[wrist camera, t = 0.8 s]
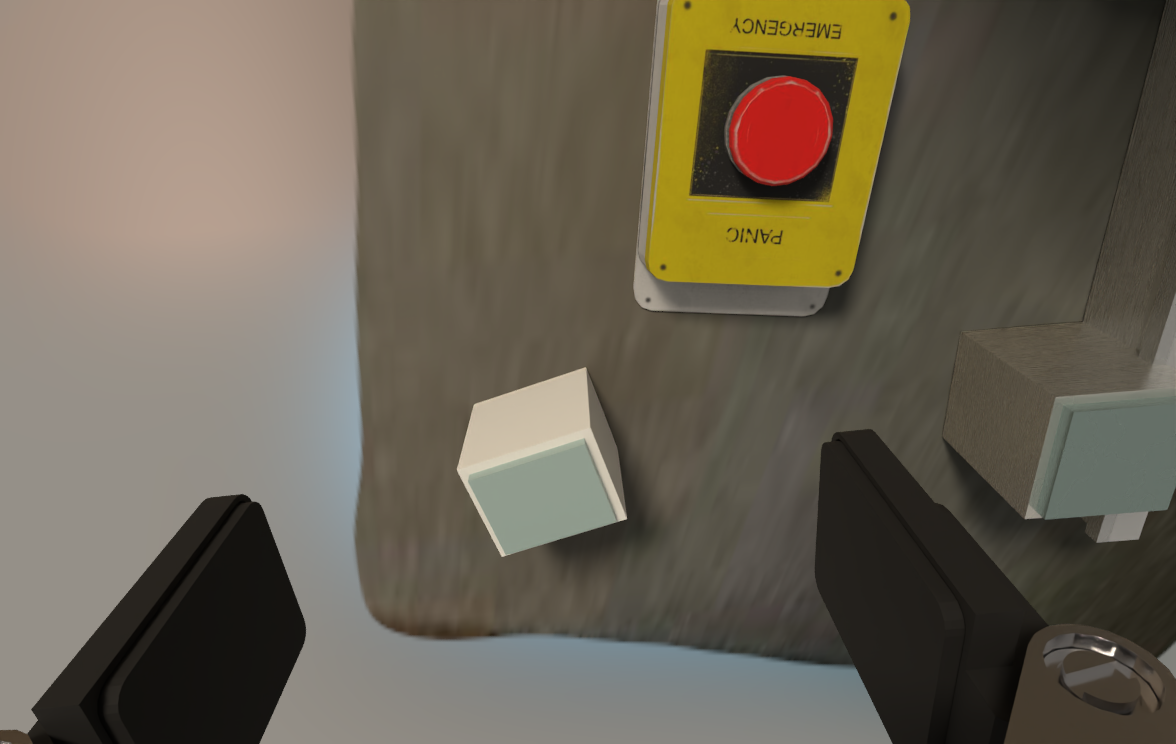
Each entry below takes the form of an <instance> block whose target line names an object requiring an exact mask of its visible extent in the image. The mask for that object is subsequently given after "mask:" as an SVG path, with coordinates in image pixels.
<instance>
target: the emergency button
mask: <svg viewBox="0 0 1176 744" xmlns="http://www.w3.org/2000/svg"><path fill="white" fill-rule="evenodd" d="M909 23H910V7H909V5H908V4H907V2H906V1H905V0H657V9H656V21H655V33H654V45H653V57H652V69H651V81H650V93H649V105H648V117H647V129H646V141H645V153H644V165H643V177H642V189H641V201H640V213H639V225H638V237H637V249H636V261H635V273H634V285H633V288H634V294H635V299H636V300H637V302H638V303H639V304H640V305H641V307H642V308H645V309H648V310H651V311H674V312H700V313H726V314H753V315H779V316H808V315H812V314H815V313H816V312H817V311H818V310H819V309H820V308H821V307H823V305H824V303H825V301H826V298H827V296H828V292H829V288H831V287H836V286H840V285H841V284H843V283H844V282H845V281H847V280H848V279H849V277H850V275H851V273H852V272H853V269H854V265H855V260H856V256H857V251H858V247H859V243H860V238H861V234H862V229H863V225H864V221H865V216H866V212H867V207H868V203H869V199H870V194H871V190H872V185H873V181H874V177H875V172H876V168H877V163H878V159H879V155H880V150H881V146H882V141H883V137H884V133H885V128H886V124H887V119H888V115H889V111H890V106H891V102H892V98H893V93H894V89H895V84H896V80H897V76H898V71H899V67H900V62H901V58H902V54H903V49H904V45H905V40H906V36H907V32H908V27H909Z"/></svg>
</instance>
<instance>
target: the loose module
mask: <svg viewBox="0 0 1176 744" xmlns="http://www.w3.org/2000/svg"><path fill="white" fill-rule="evenodd" d="M457 471H458V473H459V475H460V477H461V479H462V481H463V483H464V485H465V487H466V489H467V491H468V492H469V494H470V496H471V498H472V500H473V502H474V504H475V506H476V508H477V510H478V512H479V514H480V516H481V517H482V519H483V521H484V523H485V525H486V527H487V529H488V531H489V533H490V535H491V537H492V539H493V541H494V542H495V544H496V546H497V548H498V550H499V552H500V554H501V556H502V557H503V556H506V555H509V554H513V553H516V552H519V551H523V550H526V549H529V548H533V547H536V546H539V545H543V544H546V543H549V542H553V541H556V540H559V539H563V538H566V537H569V536H573V535H576V534H579V533H582V532H586V531H589V530H592V529H596V528H599V527H602V526H606V525H609V524H612V523H616V522H619V521H622V520H626V519H627V514H626V507H625V499H624V492H623V485H622V477H621V470H620V463H619V455H618V448H617V446H616V443H615V440H614V438H613V435H612V433H611V430H610V428H609V425H608V422H607V420H606V417H605V415H604V412H603V410H602V407H601V404H600V402H599V399H598V397H597V394H596V391H595V389H594V386H593V384H592V381H591V379H590V376H589V373H588V371H587V368H586V367H585V368H582V369H579V370H576V371H573V372H570V373H567V374H564V375H561V376H558V377H555V378H552V379H549V380H546V381H543V382H540V383H537V384H534V385H531V386H528V387H525V388H522V389H519V390H516V391H513V392H510V393H507V394H504V395H501V396H498V397H495V398H492V399H489V400H486V401H483V402H480V403H477V404H474V406H473V410H472V414H471V418H470V422H469V426H468V429H467V433H466V437H465V441H464V445H463V449H462V452H461V456H460V460H459V464H458V468H457Z"/></svg>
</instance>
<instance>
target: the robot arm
mask: <svg viewBox="0 0 1176 744" xmlns="http://www.w3.org/2000/svg"><path fill="white" fill-rule="evenodd" d="M815 578H816V583H817V587H818V590H819V592H820V594H821V597H822V599H823V601H824V603H825V605H826V607H827V609H828V611H829V613H830V615H831V617H832V619H833V621H834V623H835V625H836V627H837V630H838V632H839V634H840V636H841V638H842V640H843V642H844V644H845V646H846V648H847V650H848V652H849V654H850V656H851V658H852V661H853V663H854V665H855V667H856V669H857V671H858V673H859V675H860V677H861V679H862V681H863V683H864V685H865V687H866V689H867V691H868V694H869V696H870V698H871V700H872V702H873V704H874V706H875V708H876V710H877V712H878V714H879V716H880V718H881V720H882V722H883V725H884V727H885V729H886V731H887V733H888V735H889V737H890V739H891V741H892V743H893V744H1176V679H1175V678H1174V676H1173V675H1172V673H1171V672H1170V670H1169V669H1168V668H1167V667H1166V666H1165V665H1163V664H1162V663H1161V662H1160V661H1159V660H1158V659H1157V658H1156V657H1155V656H1153V655H1152V654H1151V653H1149V652H1148V651H1146V650H1145V649H1143V648H1141V647H1140V646H1138V645H1137V644H1135V643H1133V642H1132V641H1130V640H1128V639H1126V638H1123V637H1121V636H1118V635H1116V634H1114V633H1111V632H1109V631H1106V630H1102V629H1098V628H1095V627H1091V626H1087V625H1077V624H1059V625H1053V626H1048V625H1047V623H1046V622H1045V621H1044V620H1043V619H1042V618H1041V616H1040V615H1039V614H1038V613H1037V612H1036V611H1035V609H1034V608H1033V607H1032V606H1031V605H1030V604H1029V603H1028V601H1027V600H1026V599H1025V598H1024V597H1023V596H1022V594H1021V593H1020V592H1019V591H1018V590H1017V589H1016V587H1015V586H1014V585H1013V584H1012V583H1011V582H1010V581H1009V579H1008V578H1007V577H1006V576H1005V575H1004V574H1003V572H1002V571H1001V570H1000V569H999V568H998V567H997V565H996V564H995V563H994V562H993V561H992V560H991V559H990V557H989V556H988V555H987V554H986V553H985V552H984V550H983V549H982V548H981V547H980V546H979V545H978V543H977V542H976V541H975V540H974V539H973V538H972V537H971V535H970V534H969V533H968V532H967V531H966V530H965V528H964V527H963V526H962V525H961V524H960V523H959V521H958V520H957V519H956V518H955V517H954V516H953V515H952V513H951V512H950V511H949V510H948V509H947V508H945V507H944V506H943V505H941V504H938V503H934V501H933V500H932V499H931V498H930V497H929V496H928V494H927V493H926V492H925V491H924V490H923V488H922V487H921V486H920V485H919V484H918V483H917V481H916V480H915V479H914V478H913V477H912V475H911V474H910V473H909V472H908V471H907V470H906V468H905V467H904V466H903V465H902V464H901V462H900V461H899V460H898V459H897V458H896V456H895V455H894V454H893V453H892V452H891V451H890V449H889V448H888V447H887V446H886V445H885V443H884V442H883V441H882V440H881V439H880V438H879V436H878V435H877V434H876V433H875V432H874V431H873V430H871V429H865V430H856V431H846V432H836V433H835V434H834V435H833V437H832V442H825V443H824V444H823V445H822V449H821V465H820V483H819V501H818V519H817V537H816V555H815ZM305 636H306V626H305V621H304V618H303V615H302V612H301V610H300V607H299V604H298V602H297V599H296V596H295V594H294V591H293V588H292V586H291V583H290V580H289V578H288V575H287V572H286V570H285V567H284V564H283V562H282V559H281V556H280V554H279V551H278V548H277V546H276V543H275V540H274V538H273V535H272V532H271V530H270V527H269V524H268V522H267V519H266V517H265V514H264V511H263V509H262V507H261V505H260V504H259V503H257V502H252V501H251V499H250V498H249V497H248V496H246V495H243V494H240V495H231V496H221V497H213V498H212V497H211V498H207V499H205V500H204V501H203V502H202V503H201V504H200V505H199V507H198V508H197V509H196V510H195V512H194V513H193V514H192V515H191V516H190V518H189V519H188V520H187V521H186V522H185V524H184V525H183V526H182V527H181V528H180V530H179V531H178V532H177V533H176V535H175V536H174V537H173V538H172V539H171V541H170V542H169V543H168V544H167V545H166V547H165V548H164V549H163V550H162V552H161V553H160V554H159V555H158V556H157V558H156V559H155V560H154V561H153V562H152V564H151V565H150V566H149V567H148V568H147V570H146V571H145V572H144V573H143V575H142V576H141V577H140V578H139V580H138V581H137V582H136V583H135V584H134V586H133V587H132V588H131V589H130V590H129V592H128V593H127V594H126V595H125V596H124V598H123V599H122V600H121V601H120V603H119V604H118V605H117V606H116V607H115V609H114V610H113V611H112V612H111V613H110V615H109V616H108V617H107V618H106V620H105V621H104V622H103V623H102V624H101V626H100V627H99V628H98V629H97V630H96V632H95V633H94V634H93V635H92V636H91V638H90V639H89V640H88V641H87V642H86V644H85V645H84V646H83V647H82V649H81V650H80V651H79V652H78V653H77V655H76V656H75V657H74V659H72V661H71V662H70V663H69V664H68V666H67V667H66V668H65V669H64V670H63V672H62V673H61V674H60V675H59V676H58V678H57V679H56V680H55V681H54V683H53V684H52V685H51V687H49V689H48V690H47V691H46V692H45V693H44V695H43V696H42V697H41V698H40V700H39V701H38V702H37V703H36V704H35V706H34V707H33V708H32V709H31V710H32V711H33V713H34V714H35V716H36V717H37V719H38V721H37V722H36V724H35V725H34V726H33V727H32V729H31V730H30V731H29V732H28V734H25V733H23V732H21V731H18V730H0V744H259V743H260V741H261V739H262V736H263V734H264V732H265V729H266V727H267V725H268V723H269V721H270V719H271V716H272V714H273V712H274V709H275V707H276V705H277V703H278V701H279V698H280V696H281V694H282V691H283V689H284V687H285V685H286V683H287V680H288V678H289V676H290V674H291V671H292V669H293V667H294V665H295V663H296V660H297V658H298V656H299V654H300V651H301V649H302V647H303V644H304V641H305Z"/></svg>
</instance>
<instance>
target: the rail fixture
mask: <svg viewBox="0 0 1176 744" xmlns="http://www.w3.org/2000/svg"><path fill="white" fill-rule="evenodd" d="M942 437H943V438H944V439H945V440H946V441H947V442H948V443H949V444H950V445H951V446H952V447H953V448H954V449H955V450H956V451H957V452H958V453H959V454H960V455H961V456H962V457H963V458H964V459H965V460H966V461H967V462H968V463H969V464H970V465H971V466H972V467H973V468H974V469H975V470H976V471H977V472H978V473H979V474H980V475H981V476H982V477H983V478H984V479H985V480H986V481H987V482H988V483H989V484H990V485H991V486H992V487H993V488H994V489H995V490H996V491H997V492H998V493H999V494H1000V495H1001V496H1002V497H1003V498H1004V499H1005V500H1006V501H1007V502H1008V503H1009V504H1010V505H1011V506H1012V507H1013V508H1014V509H1015V510H1016V511H1017V512H1018V513H1019V514H1020V515H1021V516H1022V517H1023V518H1024V519H1033V518H1044V519H1045V520H1047V519H1059V518H1072V517H1080V518H1082V519H1083V520H1084V521H1085V522H1086V523H1087V526H1086V529H1085V533H1086V534H1087V535H1088V536H1090V537H1091V538H1092V539H1093V540H1094V541H1095V542H1096V543H1098V542H1111V541H1123V540H1136V539H1139V537H1140V534H1141V531H1142V528H1143V525H1144V522H1145V519H1146V517H1147V514H1148V511H1159V510H1167V509H1168V506H1169V503H1170V501H1171V498H1172V495H1173V492H1174V490H1175V487H1176V0H1166V3H1165V7H1164V11H1163V15H1162V19H1161V22H1160V26H1159V30H1158V34H1157V38H1156V42H1155V45H1154V49H1153V53H1152V57H1151V61H1150V65H1149V69H1148V72H1147V76H1146V80H1145V84H1144V88H1143V92H1142V95H1141V99H1140V103H1139V107H1138V111H1137V115H1136V119H1135V122H1134V126H1133V130H1132V134H1131V138H1130V142H1129V145H1128V149H1127V153H1126V157H1125V161H1124V165H1123V169H1122V172H1121V176H1120V180H1119V184H1118V188H1117V192H1116V195H1115V199H1114V203H1113V207H1112V211H1111V215H1110V219H1109V222H1108V226H1107V230H1106V234H1105V238H1104V242H1103V245H1102V249H1101V253H1100V257H1099V261H1098V265H1097V269H1096V272H1095V276H1094V280H1093V284H1092V288H1091V292H1090V295H1089V299H1088V303H1087V307H1086V311H1085V315H1084V318H1083V322H1074V323H1061V324H1049V325H1037V326H1024V327H1012V328H1000V329H987V330H975V331H962V332H961V333H960V339H959V344H958V350H957V356H956V361H955V367H954V373H953V378H952V384H951V389H950V395H949V401H948V406H947V412H946V418H945V423H944V429H943V434H942Z"/></svg>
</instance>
